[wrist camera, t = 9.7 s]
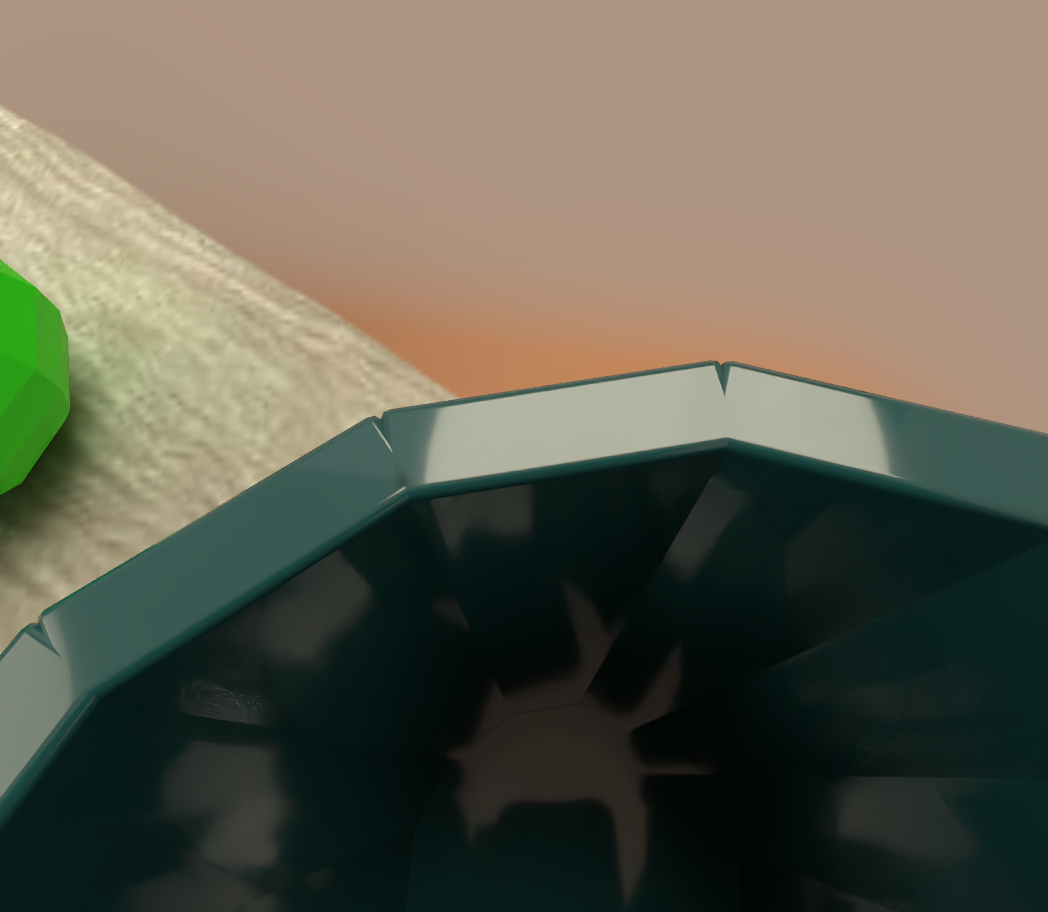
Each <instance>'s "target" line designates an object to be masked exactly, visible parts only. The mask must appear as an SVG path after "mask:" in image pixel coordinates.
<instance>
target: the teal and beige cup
mask: <svg viewBox="0 0 1048 912" xmlns="http://www.w3.org/2000/svg"><path fill="white" fill-rule="evenodd" d="M0 912H1048V434H1046V433H1041V432H1037V431H1033V430H1029V429H1025V428H1020V427H1016V426H1012V425H1007V424H1003V423H999V422H994V421H990V420H985V419H981V418H977V417H973V416H968V415H964V414H960V413H955V412H951V411H946V410H942V409H938V408H934V407H929V406H924V405H920V404H916V403H912V402H907V401H903V400H898V399H894V398H890V397H886V396H881V395H877V394H873V393H868V392H864V391H860V390H855V389H851V388H847V387H842V386H838V385H834V384H829V383H825V382H821V381H816V380H811V379H808V378H803V377H799V376H795V375H790V374H786V373H781V372H777V371H773V370H769V369H764V368H760V367H756V366H751V365H746V364H742V363H738V362H734V361H732V362H725V363H723V364H722V365H720V364H719V363H718V362H717V361H704V362H697V363H691V364H685V365H678V366H671V367H665V368H658V369H652V370H645V371H639V372H632V373H626V374H619V375H612V376H606V377H599V378H593V379H586V380H580V381H573V382H567V383H561V384H554V385H547V386H541V387H534V388H528V389H521V390H515V391H508V392H502V393H495V394H489V395H482V396H476V397H469V398H462V399H456V400H449V401H443V402H436V403H430V404H423V405H417V406H410V407H404V408H397V409H391V410H388V411H386V412H384V413H383V414H382V417H381V419H379V418H377V417H376V416H372V417H368V418H366V419H364V420H363V421H361V422H359V423H357V424H356V425H354V426H352V427H351V428H349V429H347V430H346V431H344V432H342V433H341V434H339V435H337V436H336V437H334V438H332V439H331V440H329V441H327V442H326V443H324V444H322V445H321V446H319V447H317V448H316V449H314V450H312V451H310V452H309V453H307V454H305V455H304V456H302V457H300V458H299V459H297V460H295V461H294V462H292V463H290V464H289V465H287V466H285V467H284V468H282V469H280V470H279V471H277V472H275V473H274V474H272V475H270V476H269V477H267V478H265V479H263V480H262V481H260V482H258V483H257V484H255V485H253V486H252V487H250V488H248V489H247V490H245V491H243V492H242V493H240V494H238V495H237V496H235V497H233V498H232V499H230V500H228V501H227V502H225V503H223V504H222V505H220V506H218V507H217V508H215V509H213V510H211V511H210V512H208V513H206V514H205V515H203V516H201V517H200V518H198V519H196V520H195V521H193V522H191V523H190V524H188V525H186V526H185V527H183V528H181V529H180V530H178V531H176V532H175V533H173V534H171V535H170V536H168V537H166V538H164V539H163V540H161V541H159V542H158V543H156V544H154V545H153V546H151V547H149V548H148V549H146V550H144V551H143V552H141V553H139V554H138V555H136V556H134V557H133V558H131V559H129V560H128V561H126V562H124V563H123V564H121V565H119V566H117V567H116V568H114V569H112V570H111V571H109V572H107V573H106V574H104V575H102V576H101V577H99V578H97V579H96V580H94V581H92V582H91V583H89V584H87V585H86V586H84V587H82V588H81V589H79V590H77V591H76V592H74V593H72V594H70V595H69V596H67V597H65V598H64V599H62V600H60V601H59V602H57V603H55V604H54V605H52V606H50V607H49V608H47V609H45V610H44V611H43V612H42V613H41V614H40V616H39V617H38V623H31V624H29V625H28V626H26V627H25V628H23V629H22V630H21V631H20V632H19V633H18V634H17V636H16V637H15V638H14V639H13V640H12V642H11V643H10V644H9V645H8V646H7V648H6V649H5V650H4V651H3V652H2V654H1V655H0Z"/></svg>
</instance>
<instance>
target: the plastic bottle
mask: <svg viewBox="0 0 1048 912" xmlns="http://www.w3.org/2000/svg"><path fill="white" fill-rule="evenodd" d="M69 410H70V387H69V358H68V336H67V333H66V330H65V327H64V324H63V321H62V318H61V315H60V311H59V310H58V309H57V308H56V307H55V306H54V305H53V304H52V303H51V302H50V301H49V300H48V299H47V298H46V297H45V296H44V295H43V294H42V293H41V292H40V291H39V290H38V289H37V288H36V287H34V286H33V285H32V284H31V283H29V282H28V281H27V280H25V279H24V278H23V277H22V276H20V275H19V274H18V273H17V272H15V271H14V270H13V269H11V268H10V267H9V266H8V265H6V264H5V263H4V262H3V261H1V260H0V495H1V494H3V493H5V492H7V491H8V490H10V489H12V488H14V487H16V486H18V485H19V484H21V483H22V482H23V481H24V479H25V478H26V476H27V475H28V473H29V472H30V471H31V469H32V468H33V466H34V465H35V463H36V462H37V460H38V459H39V458H40V456H41V455H42V453H43V452H44V450H45V449H46V447H47V446H48V445H49V443H50V442H51V440H52V439H53V437H54V436H55V434H56V433H57V432H58V430H59V429H60V427H61V426H62V424H63V423H64V421H65V420H66V418H67V416H68V413H69Z"/></svg>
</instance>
